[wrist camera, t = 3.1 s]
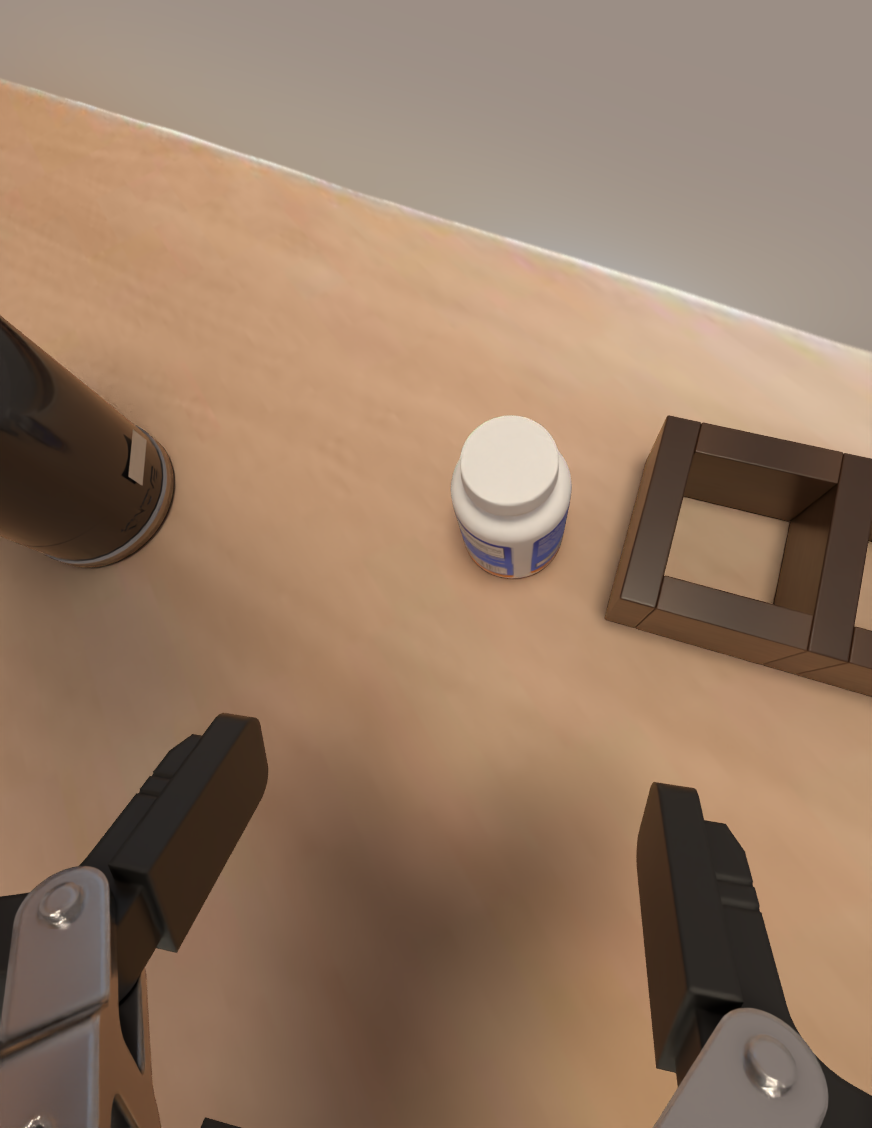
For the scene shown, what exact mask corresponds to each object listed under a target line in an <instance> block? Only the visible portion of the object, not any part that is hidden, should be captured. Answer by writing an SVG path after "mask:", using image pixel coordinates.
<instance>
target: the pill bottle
mask: <svg viewBox="0 0 872 1128" xmlns="http://www.w3.org/2000/svg"><path fill="white" fill-rule="evenodd" d="M571 489H572V484H571V475H570V471H569V468H568V465H567V463H566V461H565V459H564V458H563V456H562V455H561V453H560V452H559V451H558V449H557V446H556V444H555V441H554V439H553V438H552V436H551V435H550V433H549V432H548V431H547V430H546V429H545V428H544V427H543V426H541V425H540V424H538V423H537V422H535V421H533V420H531V419H528V418H525V417H521V416H513V415H512V416H500V417H496V418H493V419H490V420H488V421H486V422H484V423H483V424H481V425H480V426H478V427H477V428H476V429H475V430H474V431H473V432H472V433H471V434H470V435H469V437H468V438H467V440H466V441H465V443H464V446H463V448H462V451H461V456H460V459H459V461H458V463H457V465H456V467H455V469H454V472H453V476H452V481H451V498H452V503H453V507H454V511H455V514H456V517H457V521H458V524H459V527H460V530H461V533H462V536H463V539H464V542H465V545H466V548H467V550H468V552H469V554H470V556H471V557H472V559H473V560H474V561H475V562H476V563H477V564H478V565H479V566H480V567H481V568H482V569H484V570H485V571H487V572H489V573H491V574H493V575H496V576H499V577H504V578H522V577H527V576H530V575H533V574H535V573H537V572H539V571H540V570H542V569H543V568H545V567H546V566H547V565H548V564H549V563H550V562H551V561H552V559H553V558H554V557H555V555H556V553H557V552H558V550H559V547H560V545H561V541H562V538H563V533H564V528H565V523H566V518H567V513H568V509H569V504H570V498H571Z"/></svg>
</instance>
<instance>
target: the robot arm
mask: <svg viewBox="0 0 872 1128" xmlns="http://www.w3.org/2000/svg"><path fill="white" fill-rule="evenodd" d="M173 486H174V478H173V470H172V465H171V462H170V459H169V457H168V455H167V453H166V452H165V450H164V448H163V447H162V446H161V445H160V444H159V443H158V442H157V441H156V440H155V439H154V438H153V437H152V436H150V435H149V434H148V433H147V432H145V431H144V430H143V429H141V428H140V427H138V426H136V425H134V424H133V423H132V422H131V421H129V420H128V419H127V418H126V417H124V416H123V415H122V414H121V413H119V412H118V411H117V410H116V409H115V408H114V407H113V406H111V405H110V404H109V403H108V402H106V401H105V400H104V399H103V398H101V397H100V396H99V395H98V394H97V393H95V392H94V391H93V390H92V389H90V388H89V387H88V386H87V385H85V384H84V383H83V382H82V381H80V380H79V379H78V378H77V377H76V376H74V375H73V374H72V373H71V372H69V371H68V370H67V369H66V368H64V367H63V366H62V365H61V364H60V363H58V362H57V361H56V360H55V359H53V358H52V357H51V356H50V355H48V354H47V353H46V352H45V351H43V350H42V349H41V348H40V347H39V346H37V345H36V344H35V343H34V342H32V341H31V340H30V339H29V338H27V337H26V336H25V335H24V334H23V333H21V332H20V331H19V330H18V329H16V328H15V327H14V326H13V325H11V324H10V323H9V322H8V321H6V320H5V319H4V318H3V317H2V316H0V536H1V537H3V538H6V539H8V540H11V541H13V542H16V543H18V544H21V545H23V546H26V547H28V548H31V549H34V550H36V551H39V552H42V553H43V554H45V555H46V556H48V557H50V558H52V559H55V560H57V561H60V562H63V563H65V564H68V565H72V566H76V567H85V568H90V567H99V566H104V565H108V564H111V563H114V562H117V561H119V560H121V559H123V558H125V557H127V556H129V555H130V554H132V553H133V552H135V551H136V550H138V549H139V548H140V547H141V546H142V545H144V544H145V543H146V542H147V541H148V540H149V539H150V538H151V536H152V535H153V534H154V533H155V532H156V530H157V529H158V528H159V526H160V524H161V523H162V521H163V519H164V517H165V515H166V513H167V511H168V508H169V506H170V502H171V499H172V494H173ZM267 780H268V764H267V758H266V753H265V747H264V742H263V737H262V731H261V726H260V722H259V720H258V719H257V718H253V717H247V716H241V715H234V714H228V713H221V714H219V715H218V716H217V717H216V718H215V719H214V721H213V722H212V723H211V725H210V726H209V727H208V729H207V730H206V731H205V733H204V734H203V736H201V735H195V734H192V735H191V736H189V737H188V738H187V739H185V740H184V741H182V742H181V743H180V744H178V745H177V746H176V747H174V748H173V749H171V750H170V751H169V752H168V753H167V755H166V756H165V757H164V759H163V760H162V761H161V762H160V764H159V765H158V766H157V768H156V769H155V770H154V771H153V775H152V776H150V777H149V778H148V779H147V780H146V782H145V783H144V784H143V786H142V787H141V788H140V792H139V793H138V794H137V793H136V795H135V796H134V797H133V798H132V800H131V801H130V802H129V804H128V805H127V806H126V808H125V809H124V810H123V811H122V813H121V814H120V815H119V817H118V818H117V819H116V820H115V822H114V823H113V824H112V826H111V827H110V828H109V829H108V831H107V832H106V833H105V835H104V836H103V837H102V838H101V840H100V841H99V842H98V844H97V845H96V846H95V847H94V849H93V850H92V851H91V853H90V854H89V855H88V856H87V858H86V859H85V860H84V861H83V862H82V863H81V864H80V865H79V866H78V867H72V868H69V869H65V870H63V871H60V872H58V873H56V874H54V875H52V876H50V877H48V878H47V879H46V880H44V881H43V882H41V883H40V884H39V885H38V886H36V887H35V888H34V889H33V890H32V891H31V892H30V893H24V894H17V895H9V896H2V897H0V1128H161V1123H160V1117H159V1111H158V1107H157V1103H156V1099H155V1094H154V1088H153V1080H152V1066H151V1049H150V1031H149V1013H148V996H147V978H146V970H145V966H146V964H147V962H148V961H149V959H150V957H151V956H152V954H153V952H154V950H155V949H156V948H158V949H163V950H167V951H171V952H175V953H177V951H178V950H179V948H180V946H181V944H182V942H183V940H184V939H185V937H186V935H187V933H188V931H189V930H190V928H191V926H192V924H193V922H194V920H195V919H196V917H197V915H198V913H199V911H200V910H201V908H202V906H203V904H204V902H205V900H206V899H207V897H208V895H209V893H210V891H211V890H212V888H213V886H214V884H215V882H216V880H217V879H218V877H219V875H220V873H221V871H222V870H223V868H224V866H225V864H226V862H227V860H228V859H229V857H230V855H231V853H232V851H233V850H234V848H235V846H236V844H237V842H238V840H239V839H240V837H241V835H242V833H243V831H244V830H245V828H246V826H247V824H248V822H249V821H250V819H251V817H252V815H253V813H254V811H255V810H256V808H257V806H258V804H259V802H260V801H261V799H262V797H263V794H264V792H265V789H266V785H267ZM637 874H638V885H639V895H640V905H641V916H642V926H643V936H644V947H645V957H646V967H647V977H648V988H649V998H650V1008H651V1019H652V1029H653V1039H654V1050H655V1060H656V1068H657V1069H662V1070H666V1071H670V1072H674V1073H676V1075H677V1084H678V1088H677V1090H676V1092H675V1093H674V1095H673V1096H672V1098H671V1100H670V1101H669V1103H668V1104H667V1106H666V1108H665V1109H664V1111H663V1112H662V1114H661V1116H660V1117H659V1119H658V1120H657V1122H656V1124H655V1125H654V1127H653V1128H872V1096H871V1095H869V1094H867V1093H866V1092H864V1091H862V1090H860V1089H859V1088H857V1087H855V1086H853V1085H852V1084H850V1083H848V1082H847V1081H845V1080H844V1079H842V1078H841V1077H839V1076H838V1075H837V1074H835V1073H834V1072H833V1071H831V1070H830V1069H829V1068H828V1067H827V1066H826V1065H825V1064H824V1063H823V1062H822V1061H821V1060H819V1058H818V1057H817V1056H816V1055H815V1054H814V1053H813V1052H812V1050H811V1049H810V1047H809V1046H808V1045H807V1043H806V1042H805V1041H804V1040H803V1039H802V1037H801V1036H800V1034H799V1032H798V1031H797V1029H796V1027H795V1025H794V1023H793V1021H792V1019H791V1017H790V1014H789V1011H788V1008H787V1005H786V1001H785V997H784V994H783V990H782V986H781V983H780V979H779V975H778V972H777V968H776V964H775V961H774V957H773V953H772V950H771V946H770V942H769V939H768V935H767V931H766V928H765V924H764V920H763V917H762V913H761V912H760V911H759V902H758V898H757V895H756V891H755V887H753V880H752V876H751V873H750V869H749V865H748V862H747V858H746V854H745V851H744V850H743V848H742V847H741V845H740V844H739V843H738V841H737V840H736V838H735V837H734V835H733V834H732V833H731V831H730V830H729V828H728V827H727V825H726V824H723V823H717V822H711V821H705V820H704V818H703V814H702V809H701V804H700V800H699V796H698V793H697V791H696V789H694V788H689V787H683V786H676V785H670V784H663V783H657V782H653V783H652V785H651V788H650V792H649V796H648V799H647V803H646V807H645V811H644V815H643V818H642V822H641V826H640V830H639V834H638V841H637ZM201 1128H241V1127H237V1126H234V1125H230V1124H227V1123H223V1122H220V1121H216V1120H212V1119H209V1118H205V1119H204V1121H203V1123H202V1126H201Z"/></svg>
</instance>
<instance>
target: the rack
mask: <svg viewBox="0 0 872 1128" xmlns="http://www.w3.org/2000/svg"><path fill="white" fill-rule="evenodd" d="M683 496H686V497H690V498H694V499H698V500H702V501H707V502H711V503H715V504H719V505H723V506H727V507H732V508H736V509H740V510H744V511H748V512H753V513H757V514H761V515H765V516H769V517H773V518H778V519H782V520H786V521H791V522H790V527H789V532H788V537H787V542H786V547H785V552H784V557H783V562H782V567H781V572H780V577H779V582H778V587H777V592H776V597H775V602H774V605H773V604H769V603H766V602H762V601H758V600H754V599H751V598H747V597H743V596H740V595H736V594H732V593H728V592H725V591H721V590H717V589H713V588H710V587H706V586H702V585H699V584H695V583H691V582H687V581H684V580H680V579H676V578H672V577H669V576H664V573H665V569H666V565H667V561H668V557H669V552H670V548H671V544H672V540H673V536H674V532H675V528H676V524H677V520H678V516H679V512H680V508H681V504H682V500H683ZM868 540H869V541H872V459H870V458H865V457H861V456H856V455H851V454H847V453H844V454H843V452H839V451H834V450H829V449H825V448H820V447H815V446H810V445H806V444H801V443H796V442H792V441H787V440H782V439H778V438H773V437H768V436H764V435H759V434H754V433H750V432H745V431H740V430H736V429H731V428H726V427H722V426H717V425H712V424H707V423H702V424H701V423H700V422H697V421H692V420H688V419H683V418H678V417H674V416H667V417H666V420H665V422H664V424H663V426H662V428H661V430H660V433H659V435H658V437H657V439H656V441H655V443H654V445H653V448H652V450H651V452H650V454H649V456H648V458H647V461H646V464H645V468H644V471H643V475H642V479H641V483H640V486H639V490H638V494H637V498H636V502H635V505H634V509H633V513H632V517H631V520H630V524H629V528H628V532H627V535H626V539H625V543H624V547H623V550H622V554H621V558H620V562H619V565H618V569H617V573H616V577H615V580H614V584H613V588H612V592H611V595H610V599H609V603H608V607H607V610H606V614H605V619H606V620H609V621H613V622H616V623H620V624H623V625H627V626H630V627H636V628H637V629H640V630H643V631H647V632H650V633H654V634H657V635H661V636H664V637H668V638H671V639H675V640H678V641H681V642H685V643H688V644H692V645H695V646H699V647H702V648H706V649H709V650H713V651H716V652H720V653H723V654H726V655H730V656H733V657H737V658H740V659H744V660H747V661H751V662H754V663H758V664H763V665H765V666H768V667H772V668H775V669H779V670H782V671H786V672H789V673H793V674H797V675H799V676H803V677H806V678H810V679H813V680H816V681H820V682H823V683H827V684H830V685H834V686H837V687H841V688H844V689H848V690H851V691H854V692H858V693H861V694H865V695H868V696H872V631H870V630H866V629H863V628H859V627H854V624H855V618H856V612H857V606H858V600H859V594H860V588H861V582H862V576H863V570H864V564H865V558H866V552H867V546H868Z"/></svg>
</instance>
